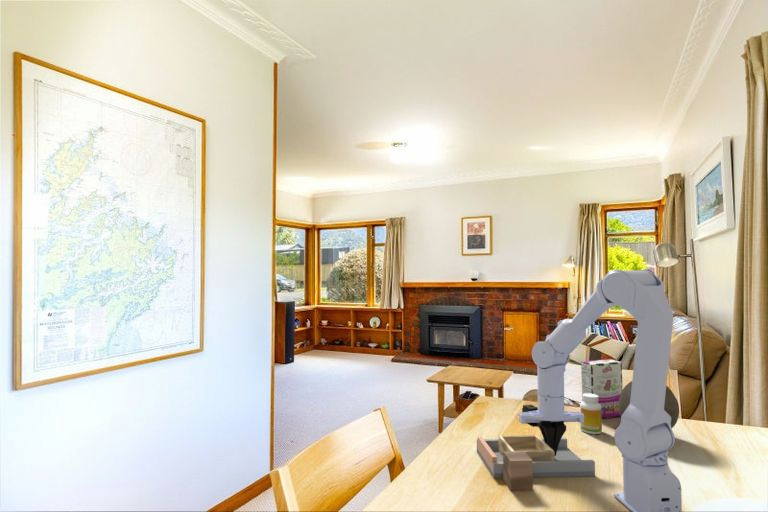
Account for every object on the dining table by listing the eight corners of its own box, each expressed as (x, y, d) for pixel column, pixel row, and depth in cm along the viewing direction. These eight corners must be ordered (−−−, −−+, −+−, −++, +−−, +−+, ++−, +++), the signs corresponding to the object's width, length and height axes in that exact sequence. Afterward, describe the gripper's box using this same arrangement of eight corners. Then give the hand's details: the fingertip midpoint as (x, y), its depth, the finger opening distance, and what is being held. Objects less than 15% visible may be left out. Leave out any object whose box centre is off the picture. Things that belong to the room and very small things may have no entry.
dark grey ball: (608, 435, 117) (607, 378, 118) (632, 423, 126) (631, 371, 126) (667, 452, 106) (666, 389, 107) (689, 438, 115) (688, 381, 115)
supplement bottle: (604, 435, 117) (603, 398, 118) (582, 433, 118) (582, 397, 119) (598, 428, 122) (598, 393, 123) (578, 426, 124) (577, 391, 124)
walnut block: (532, 490, 88) (532, 460, 88) (510, 491, 87) (510, 460, 88) (524, 480, 92) (524, 451, 92) (503, 480, 92) (503, 451, 92)
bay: (595, 475, 94) (594, 456, 94) (493, 478, 93) (493, 459, 93) (565, 449, 108) (565, 433, 108) (476, 451, 106) (476, 435, 106)
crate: (554, 467, 96) (554, 451, 96) (512, 468, 95) (512, 452, 95) (537, 449, 105) (537, 435, 105) (498, 450, 105) (498, 435, 105)
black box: (555, 428, 124) (554, 411, 124) (533, 431, 122) (533, 414, 122) (527, 414, 136) (527, 399, 136) (507, 416, 134) (507, 401, 134)
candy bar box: (611, 411, 137) (610, 358, 137) (624, 416, 132) (623, 361, 133) (581, 414, 134) (580, 360, 134) (592, 420, 129) (592, 364, 130)
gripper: (573, 389, 105) (573, 446, 105) (513, 389, 105) (514, 447, 104) (588, 397, 98) (589, 459, 98) (524, 398, 98) (525, 460, 97)
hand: (551, 454), depth 100 cm, fingers closed
